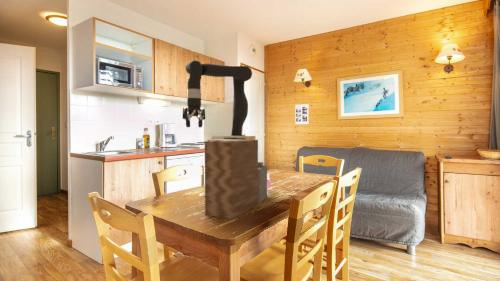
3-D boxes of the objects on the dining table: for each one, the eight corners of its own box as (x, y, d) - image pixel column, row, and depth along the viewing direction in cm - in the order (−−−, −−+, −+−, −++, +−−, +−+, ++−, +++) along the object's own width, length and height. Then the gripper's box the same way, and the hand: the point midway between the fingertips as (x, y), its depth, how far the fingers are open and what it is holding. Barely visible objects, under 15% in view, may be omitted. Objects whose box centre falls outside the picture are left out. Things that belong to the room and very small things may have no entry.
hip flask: (259, 204, 133) (260, 164, 132) (252, 203, 134) (252, 164, 133) (267, 196, 148) (267, 160, 147) (260, 196, 149) (260, 160, 148)
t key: (208, 139, 132) (208, 135, 132) (217, 139, 139) (217, 135, 139) (247, 140, 122) (247, 136, 122) (255, 140, 129) (255, 135, 129)
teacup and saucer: (208, 192, 158) (207, 185, 158) (217, 194, 153) (217, 187, 153) (196, 195, 152) (196, 188, 151) (205, 197, 146) (205, 190, 146)
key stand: (205, 214, 118) (204, 138, 116) (233, 200, 139) (233, 136, 137) (232, 219, 111) (232, 139, 110) (257, 204, 133) (257, 137, 131)
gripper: (188, 96, 140) (188, 127, 141) (208, 98, 152) (208, 127, 152) (179, 97, 145) (179, 127, 146) (199, 99, 156) (199, 127, 157)
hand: (194, 127), depth 149 cm, fingers open, 8 cm apart
